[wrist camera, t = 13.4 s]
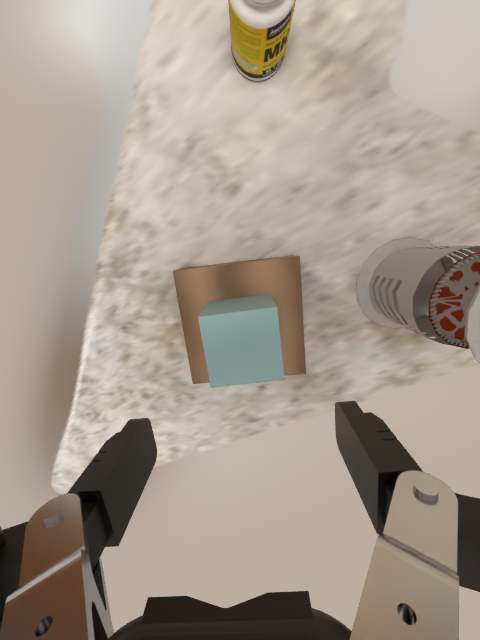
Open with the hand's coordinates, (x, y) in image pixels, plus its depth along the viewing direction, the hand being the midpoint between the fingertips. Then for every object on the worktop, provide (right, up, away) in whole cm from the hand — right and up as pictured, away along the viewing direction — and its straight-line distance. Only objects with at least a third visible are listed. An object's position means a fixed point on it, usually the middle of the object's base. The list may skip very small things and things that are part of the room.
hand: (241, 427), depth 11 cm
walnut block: (0, +5, +19) cm, 19 cm away
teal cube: (0, +4, +15) cm, 15 cm away
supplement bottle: (+2, +29, +12) cm, 31 cm away
